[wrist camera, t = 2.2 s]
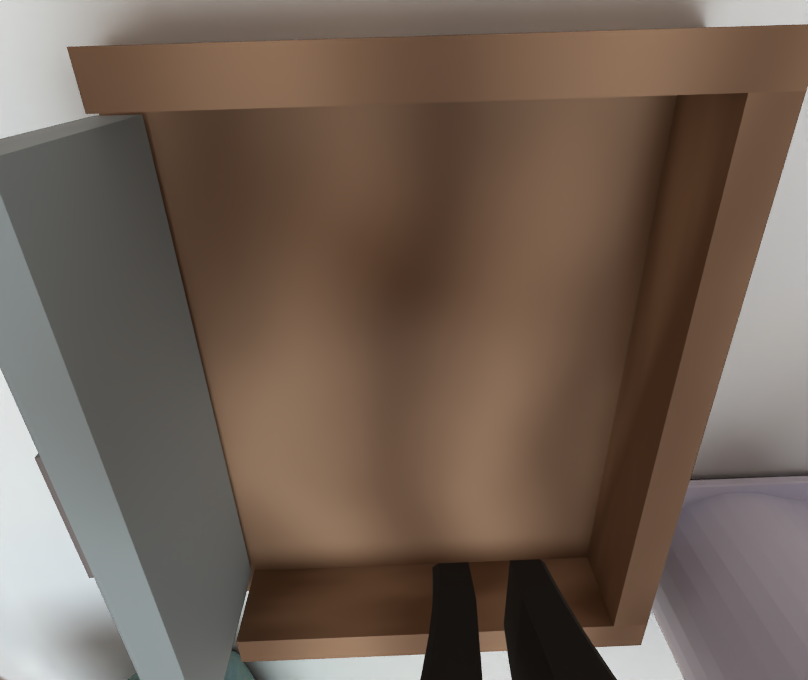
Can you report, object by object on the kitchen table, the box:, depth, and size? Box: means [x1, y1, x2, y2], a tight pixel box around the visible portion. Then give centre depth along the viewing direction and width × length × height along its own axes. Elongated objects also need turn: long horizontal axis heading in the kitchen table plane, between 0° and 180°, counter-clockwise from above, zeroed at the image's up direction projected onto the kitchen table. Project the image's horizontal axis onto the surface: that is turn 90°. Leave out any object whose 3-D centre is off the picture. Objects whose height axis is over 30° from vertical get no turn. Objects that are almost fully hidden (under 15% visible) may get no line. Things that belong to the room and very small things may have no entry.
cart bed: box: [67, 25, 808, 662], centre depth 17 cm, size 16×20×4 cm
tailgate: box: [0, 114, 251, 680], centre depth 15 cm, size 2×17×6 cm, turn 2°
